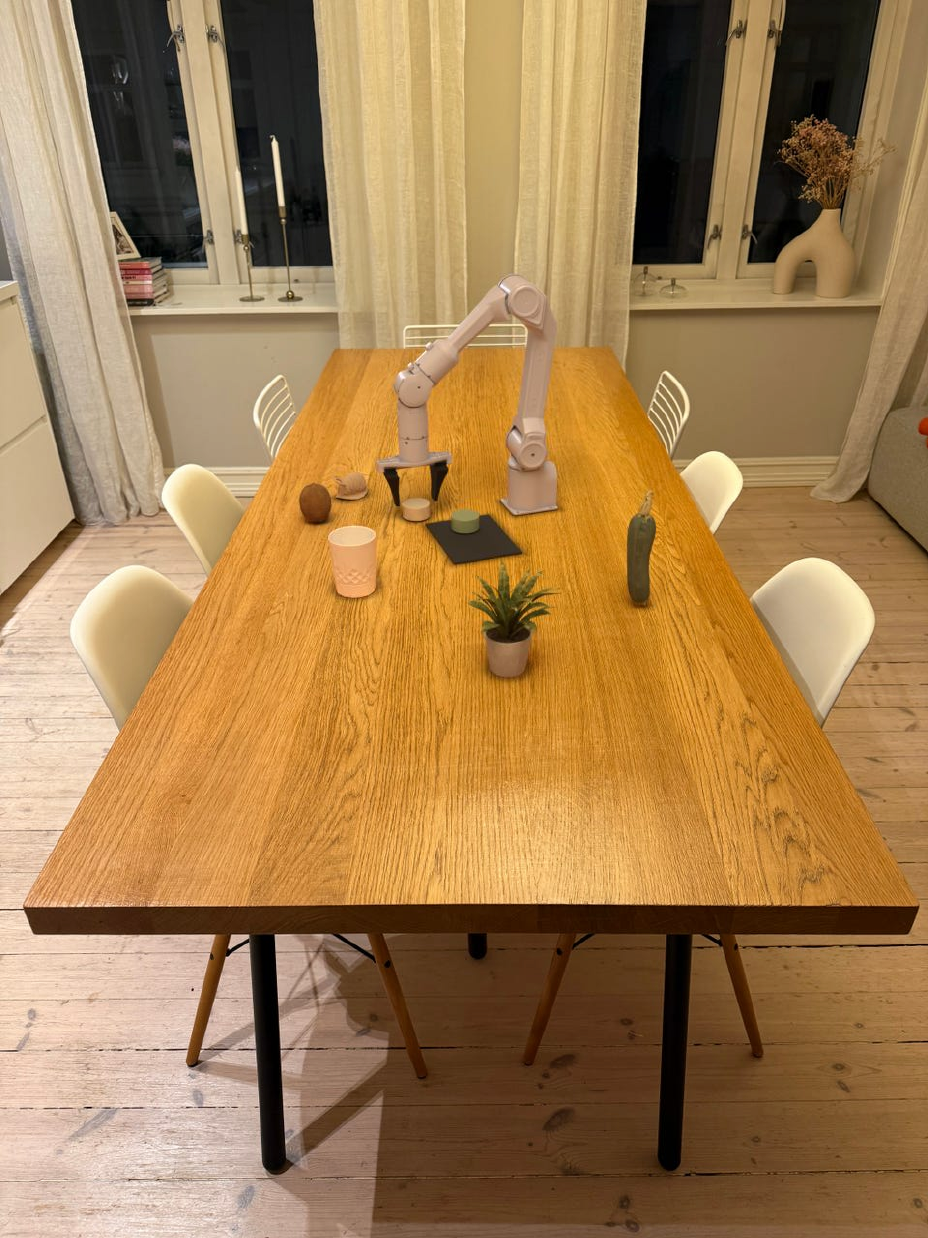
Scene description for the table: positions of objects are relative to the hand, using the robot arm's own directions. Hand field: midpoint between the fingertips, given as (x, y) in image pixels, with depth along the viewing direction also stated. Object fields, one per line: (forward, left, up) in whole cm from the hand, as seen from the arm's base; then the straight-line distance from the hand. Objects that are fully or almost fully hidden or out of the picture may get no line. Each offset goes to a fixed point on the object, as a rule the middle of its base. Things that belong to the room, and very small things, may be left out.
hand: (415, 502), depth 187 cm
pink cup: (+18, +26, -3) cm, 31 cm away
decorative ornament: (+10, -14, -3) cm, 18 cm away
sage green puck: (-7, +10, -3) cm, 12 cm away
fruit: (+19, -4, -3) cm, 20 cm away
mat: (-7, +14, -3) cm, 16 cm away
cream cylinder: (0, 0, -3) cm, 3 cm away
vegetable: (-24, +47, -3) cm, 52 cm away
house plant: (+3, +59, -3) cm, 59 cm away
